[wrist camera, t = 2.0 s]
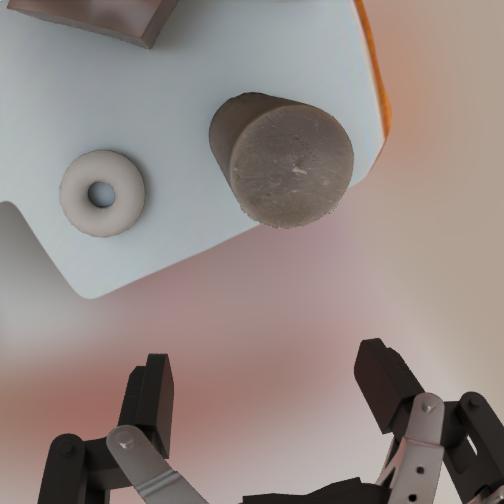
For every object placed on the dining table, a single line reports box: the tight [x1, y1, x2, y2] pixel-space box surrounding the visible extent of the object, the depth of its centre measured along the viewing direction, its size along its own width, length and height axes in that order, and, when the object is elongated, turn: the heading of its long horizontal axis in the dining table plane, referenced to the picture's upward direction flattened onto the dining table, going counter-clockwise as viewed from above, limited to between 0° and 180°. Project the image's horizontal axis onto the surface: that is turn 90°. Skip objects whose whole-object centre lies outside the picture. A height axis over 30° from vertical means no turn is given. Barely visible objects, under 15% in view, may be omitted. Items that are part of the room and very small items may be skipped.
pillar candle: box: [209, 92, 354, 229], centre depth 27 cm, size 10×10×15 cm
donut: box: [60, 150, 145, 237], centre depth 31 cm, size 10×4×10 cm
